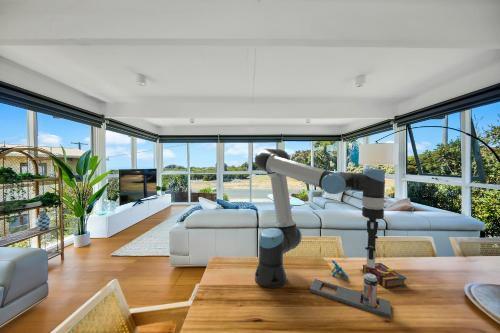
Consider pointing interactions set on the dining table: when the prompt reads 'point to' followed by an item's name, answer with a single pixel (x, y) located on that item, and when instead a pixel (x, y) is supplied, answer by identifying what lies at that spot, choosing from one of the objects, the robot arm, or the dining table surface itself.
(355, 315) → the dining table surface
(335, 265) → the gear
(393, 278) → the decorative book
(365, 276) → the beer can
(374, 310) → the rail
